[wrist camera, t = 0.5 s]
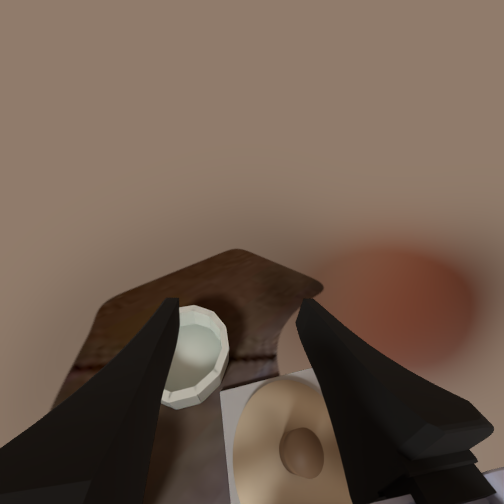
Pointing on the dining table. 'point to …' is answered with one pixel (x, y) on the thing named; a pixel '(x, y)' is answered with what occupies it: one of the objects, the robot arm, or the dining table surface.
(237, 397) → the mat
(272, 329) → the dining table surface
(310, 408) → the lid
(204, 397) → the bowl
